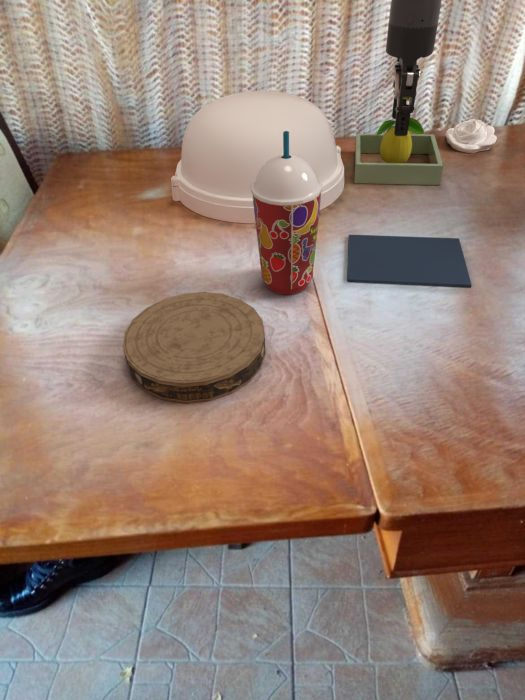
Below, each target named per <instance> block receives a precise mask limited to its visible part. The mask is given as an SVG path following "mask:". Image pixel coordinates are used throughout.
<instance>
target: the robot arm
mask: <svg viewBox="0 0 525 700" xmlns="http://www.w3.org/2000/svg"><path fill="white" fill-rule="evenodd" d="M441 8H442V0H390V8H389V16H388V25H387V36H386V42H385V43H386V44H385V52H386V54H387V55H388V56H389V57H393V58H396V64H394V65H393V74H392V75H393V79H392V87H393V90H392V93H393V102H392V103H393V104H392V110H391V118H392V120H394V121H395V124H394V126H395V129H394V134H395V136H406V135H407V134H408V131H409V130H408V128H409V121H410V118H411V115H412V114H413V113H414V111H415V108H416V107H415V103H416V97H417V96H418V95H417V94H418V81H419V79H420V76H421V68H420V64H418V60H419V59H421V58H423V59H425V58H428V57H430V56H431V55H433V53H434V50H435V45H436V44H435V43H436V40H437V39H436V37H437V32H438V26H439V20H440V14H441ZM407 101H408V103H407Z"/></svg>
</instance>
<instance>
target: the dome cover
mask: <svg viewBox="0 0 525 700" xmlns="http://www.w3.org/2000/svg"><path fill="white" fill-rule="evenodd" d="M284 131H289V154H291V155H295V156H298V157H301V158H302V159H304V160H306V161H307V162H308V163H309V164H310V165H311V167H312V168H313V169H314V171H315V173H316V175H317V177H318V180H319V181H320V182H321V183H322V192H321V200H320V210H319V211H322V210H323V209H325V208H327V207H329V206H330V205H332V204H333V203H335V201H337V200H338V198H339V197H340V196H341V195H342V194H343V191H344V189H345V165H344V163H343V159H342V154H341V150H342V148H341V147H340V146H339V145H337V144H336V138H335V135H334V132H333V128H332V126H331V122H330V121H329V119H328V117H327V116H326V114H325V113H324V111H322V110H321V108H319V107H318V106H317V105H316V104H315V103H313V102H312V101H310V100H308V99H306V98H303V97H301V96H299V95H295V94H292V93H288V92H282V91H275V90H250V91H249V90H248V91H242V92H236V93H232V94H228V95H224V96H222V97H218V98H216V99H214V100H212V101H210V102H208V103H207V104H205V105H204V106H202V107H200V108H199V109H198V111H197V112H195V113H194V115H192V117H191V119H190V120H189V122H188V123H187V126H186V128H185V130H184V133H183V138H182V143H181V153H180V154H181V155H180V156H181V157H180V160H179V161H178V162H177V165H176V168H175V173H174V174H175V175H172V176H171V177H170V184H171V197H172V201H174V202H180V203H181V204H182V205H183V206H184V207H186V208H187V209H188V210H190V211H192V212H194V213H196V214H198V215H200V216H203V217H205V218H210V219H212V220H216V221H222V222H228V223H236V224H256V222H255V214H254V205H253V194H252V192H251V186H252V184H253V182H254V181H255V179H256V176H257V174H258V172H259V170H260V169H261V168H262V166H263V165H264V164H265V163H266V162H267V161H268V160H270V159H272V158H273V157H276V156H279V155H283V132H284Z"/></svg>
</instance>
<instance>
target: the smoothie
mask: <svg viewBox="0 0 525 700" xmlns="http://www.w3.org/2000/svg"><path fill="white" fill-rule="evenodd" d="M251 192H252V194H253V205H254V214H255V222H256V223H255V231H256V237H257V238H256V239H257V240H256V241H257V248H258V256H259V263H260V270H261V271H260V273H261V278H262V280H263V282H264V283H265V284H266V287H267V289H269V290H270V291H272V292H273V293H276V294H279V295H294V294H298V293H301V292H303V291H304V290H305V289H307V288H308V285H309V283H310V282H311V280H312V278H313V276H314V269H315V268H314V267H315V260H316V259H315V258H316V249H317V238H318V228H319V220H320V219H319V218H320V211H321V210H320V200H321V192H322V183H321V182H320V181H319V180H318V177H317V175H316V173H315V171H314V169H313V168H312V167H311V165H310V164H309V163H308V162H307V161H306V160H304V159H302V158H301V157H298V156H295V155H291V154H289V131H284V132H283V155H279V156H276V157H273V158H272V159H270V160H268V161H267V162H266V163H265V164H264V165H263V166H262V168H261V169H260V170H259V172H258V174H257V176H256V179H255V181H254V182H253V184H252V186H251Z"/></svg>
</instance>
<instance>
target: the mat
mask: <svg viewBox="0 0 525 700" xmlns="http://www.w3.org/2000/svg"><path fill="white" fill-rule="evenodd" d="M347 251H348V252H347V278H346V279H347V280H346V281H347V282H348V283H368V284H369V283H370V284H389V285H390V284H393V285H411V286H412V285H414V286H432V287H433V286H434V287H454V288H455V287H458V288H472V281H471V278H470V274H469V270H468V267H467V263H466V258H465V255H464V252H463V247H462V244H461V241H460V238H459V237H430V236H405V235H404V236H403V235H402V236H401V235H376V234H375V235H372V234H348V247H347Z"/></svg>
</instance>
